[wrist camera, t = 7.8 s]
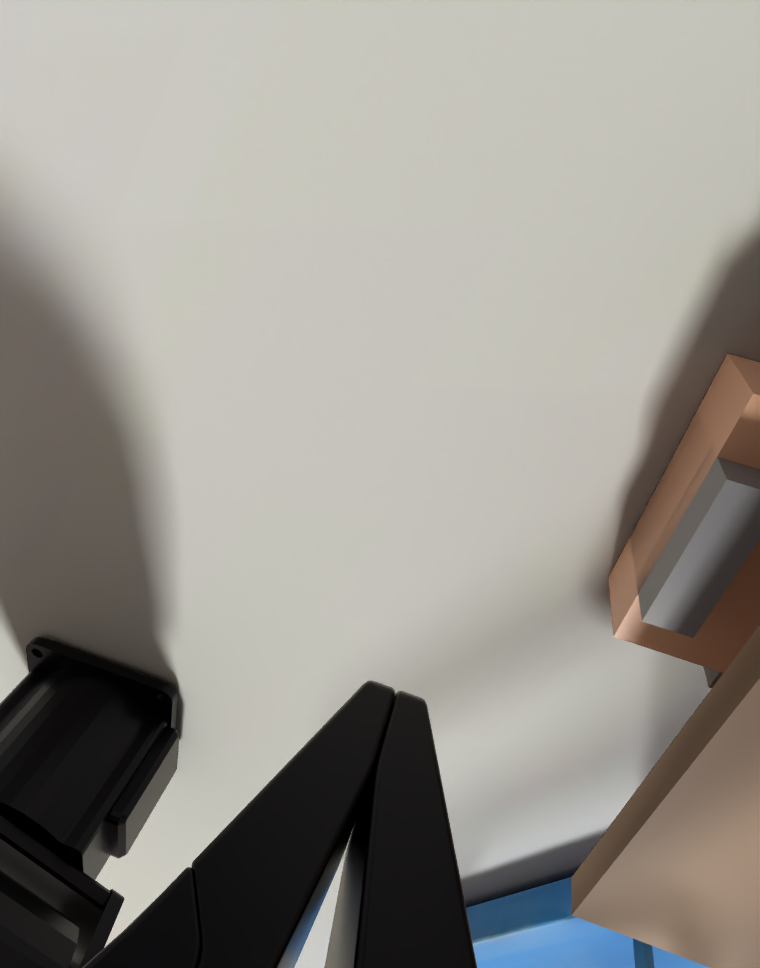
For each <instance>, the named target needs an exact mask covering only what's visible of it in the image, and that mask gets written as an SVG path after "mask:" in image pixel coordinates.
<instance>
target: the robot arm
mask: <svg viewBox="0 0 760 968" xmlns="http://www.w3.org/2000/svg"><path fill="white" fill-rule="evenodd" d="M26 653H27V661H28V669H29V674H28V675H27V676H26V677H25V678H24V679H23V680H22V681H21V682H20V683H19V684H18V685H17V686H16V688H15V689H14V690H13V691H12V692H11V693H10V694H9V695H8V696H7V697H6V698H5V699H4V700H3V701H2V702H1V703H0V968H294V967H295V964H296V962H297V960H298V957H299V955H300V953H301V951H302V948H303V946H304V944H305V942H306V939H307V937H308V935H309V932H310V930H311V928H312V926H313V923H314V921H315V919H316V916H317V914H318V912H319V910H320V907H321V905H322V903H323V900H324V898H325V896H326V894H327V891H328V889H329V887H330V884H331V882H332V880H333V878H334V875H335V873H336V871H337V869H338V866H339V864H340V861H341V859H342V856H343V854H344V851H345V849H346V846H347V843H348V840H349V838H350V840H349V844H348V848H347V852H346V857H345V861H344V866H343V871H342V876H341V882H340V887H339V892H338V898H337V903H336V909H335V914H334V919H333V925H332V930H331V935H330V941H329V946H328V952H327V957H326V962H325V968H477V963H476V958H475V953H474V948H473V943H472V937H471V932H470V927H469V922H468V917H467V911H466V906H465V901H464V896H463V891H462V885H461V880H460V875H459V870H458V865H457V859H456V854H455V849H454V844H453V839H452V833H451V828H450V823H449V818H448V812H447V807H446V802H445V797H444V792H443V786H442V781H441V776H440V771H439V766H438V760H437V755H436V750H435V745H434V740H433V734H432V729H431V724H430V719H429V714H428V708H427V705H426V702H425V700H424V699H422V698H420V697H417V696H414V695H412V694H409V693H406V692H403V691H399V692H397V693H396V695H395V690H394V689H393V688H392V687H389V686H386V685H383V684H380V683H378V682H375V681H367V682H366V683H364V684H363V685H362V686H361V687H360V688H359V689H358V690H357V692H356V693H355V694H354V695H353V696H352V697H351V698H350V699H349V700H348V701H347V702H346V703H345V704H344V705H343V706H342V707H341V708H340V709H339V710H338V711H337V712H336V713H335V714H334V715H333V716H332V718H331V719H330V720H329V721H328V722H327V723H326V724H325V725H324V726H323V727H322V728H321V729H320V730H319V731H318V732H317V733H316V734H315V735H314V736H313V737H312V738H311V739H310V740H309V741H308V742H307V744H306V745H305V746H304V747H303V748H302V749H301V750H300V751H299V752H298V753H297V754H296V755H295V756H294V757H293V758H292V759H291V760H290V761H289V762H288V763H287V764H286V765H285V766H284V767H283V769H282V770H281V771H280V772H279V773H278V774H277V775H276V776H275V777H274V778H273V779H272V780H271V781H270V782H269V783H268V784H267V785H266V786H265V787H264V788H263V789H262V790H261V791H260V792H259V793H258V795H257V796H256V797H255V798H254V799H253V800H252V801H251V802H250V803H249V804H248V805H247V806H246V807H245V808H244V809H243V810H242V811H241V812H240V813H239V814H238V815H237V816H236V817H235V818H234V819H233V821H232V822H231V823H230V824H229V825H228V826H227V827H226V828H225V829H224V830H223V831H222V832H221V833H220V834H219V835H218V836H217V837H216V838H215V839H214V840H213V841H212V842H211V843H210V844H209V845H208V847H207V848H206V849H205V850H204V851H203V852H202V853H201V854H200V855H199V856H198V857H197V858H196V859H195V860H194V861H193V863H192V868H190V867H188V868H186V869H185V870H184V871H183V872H182V873H181V874H180V875H179V876H178V877H177V878H176V879H175V880H174V881H173V882H172V883H171V884H170V886H169V887H168V888H167V889H166V890H165V891H164V892H163V893H162V894H161V895H160V896H159V897H158V898H157V899H156V900H155V901H154V902H153V903H152V904H151V905H150V906H149V907H148V908H147V909H145V910H144V911H143V912H142V913H141V914H140V915H139V916H138V917H137V918H136V919H135V920H134V921H133V922H132V923H131V924H130V925H129V926H128V927H127V928H126V929H125V930H124V931H123V932H122V933H121V934H120V935H118V936H117V937H116V938H115V939H114V940H113V941H112V942H111V943H109V944H108V945H107V946H106V947H105V948H104V946H105V944H106V942H107V939H108V937H109V934H110V932H111V930H112V927H113V925H114V923H115V920H116V918H117V915H118V913H119V911H120V908H121V906H122V903H123V901H124V897H123V896H121V895H120V894H119V893H117V892H116V891H114V890H113V889H111V890H108V889H106V888H105V887H104V886H102V885H101V884H99V883H98V882H97V881H95V879H96V878H97V876H98V874H99V873H100V871H101V869H102V868H103V866H104V864H105V863H106V861H107V860H108V858H109V856H110V855H111V856H114V857H116V858H121V857H122V856H124V855H126V854H127V853H128V851H129V850H130V848H131V846H132V845H133V843H134V841H135V839H136V838H137V836H138V834H139V833H140V831H141V829H142V828H143V826H144V824H145V822H146V821H147V819H148V817H149V816H150V814H151V812H152V811H153V809H154V807H155V805H156V804H157V802H158V800H159V799H160V797H161V795H162V794H163V792H164V790H165V788H166V787H167V785H168V783H169V782H170V780H171V778H172V776H173V775H174V773H175V771H176V769H177V759H178V745H179V734H178V731H177V729H175V728H176V712H177V697H178V694H177V691H176V690H175V688H174V687H173V686H171V685H170V684H168V683H166V682H163V681H160V680H157V679H155V678H152V677H149V676H146V675H144V674H141V673H138V672H135V671H133V670H130V669H127V668H124V667H122V666H119V665H116V664H113V663H111V662H108V661H105V660H102V659H100V658H97V657H94V656H91V655H89V654H86V653H83V652H80V651H78V650H75V649H72V648H69V647H67V646H64V645H61V644H58V643H56V642H53V641H50V640H47V639H45V638H41V637H35V638H34V639H33V640H32V641H31V642H30V643H29V644H28V645H27V646H26ZM352 829H353V830H352ZM351 832H352V833H351ZM350 835H351V837H350Z"/></svg>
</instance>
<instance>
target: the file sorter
mask: <svg viewBox="0 0 760 968" xmlns="http://www.w3.org/2000/svg"><path fill="white" fill-rule="evenodd" d="M571 878H572V877H569V878H566V879H562V880H559V881H556V882H552V883H549V884H546V885H542V886H539V887H535V888H532V889H529V890H525V891H522V892H518V893H515V894H512V895H508V896H505V897H501V898H498V899H495V900H491V901H488V902H484V903H481V904H477V905H474V906H471V907H467V908H466V911H467V917H468V922H469V927H470V932H471V937H472V943H473V948H474V953H475V958H476V963H477V968H710V967H707V966H705V965H702V964H700V963H697V962H694V961H692V960H689V959H686V958H684V957H681V956H678V955H676V954H673V953H670V952H668V951H665V950H662V949H660V948H657V947H654V946H652V945H649V944H646V943H644V942H641V941H638V940H636V939H633V938H631V937H628V936H625V935H623V934H620V933H617V932H615V931H612V930H609V929H607V928H604V927H601V926H599V925H596V924H593V923H591V922H588V921H585V920H583V919H580V918H577V917H575V916H572V889H571Z"/></svg>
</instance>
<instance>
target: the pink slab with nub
mask: <svg viewBox="0 0 760 968" xmlns="http://www.w3.org/2000/svg"><path fill="white" fill-rule="evenodd" d="M608 578H609V589H610V601H611V612H612V623H613V635H614V637H616V638H619V639H622V640H625V641H628V642H631V643H634V644H638V645H641V646H644V647H647V648H650V649H653V650H656V651H659V652H662V653H665V654H668V655H671V656H674V657H677V658H680V659H683V660H686V661H689V662H692V663H695V664H698V665H701V666H704V667H707V668H710V669H713V670H716V671H719V672H722V673H724V672H725V670H726V669H727V668H728V666H729V665H730V664H731V662H732V661H733V660H734V658H735V657H736V656H737V654H738V653H739V651H740V650H741V649H742V647H743V646H744V645H745V643H746V642H747V641H748V639H749V638H750V637H751V635H752V634H753V633H754V631H755V630H756V629H757V627H758V626H759V625H760V362H756V361H752V360H749V359H745V358H742V357H738V356H735V355H731V354H728V353H727V355H726V357H725V359H724V361H723V363H722V365H721V367H720V368H719V370H718V372H717V374H716V376H715V378H714V380H713V382H712V383H711V385H710V387H709V389H708V391H707V393H706V395H705V397H704V399H703V400H702V402H701V404H700V406H699V408H698V410H697V412H696V414H695V415H694V417H693V419H692V421H691V423H690V425H689V427H688V429H687V431H686V432H685V434H684V436H683V438H682V440H681V442H680V444H679V446H678V447H677V449H676V451H675V453H674V455H673V457H672V459H671V461H670V463H669V464H668V466H667V468H666V470H665V472H664V474H663V476H662V478H661V479H660V481H659V483H658V485H657V487H656V489H655V491H654V493H653V495H652V496H651V498H650V500H649V502H648V504H647V506H646V508H645V510H644V512H643V513H642V515H641V517H640V519H639V521H638V523H637V525H636V527H635V528H634V530H633V532H632V534H631V536H630V538H629V540H628V542H627V544H626V545H625V547H624V549H623V551H622V553H621V555H620V557H619V559H618V560H617V562H616V564H615V566H614V568H613V570H612V572H611V574H610V576H609V577H608Z"/></svg>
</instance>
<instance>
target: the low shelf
mask: <svg viewBox="0 0 760 968" xmlns="http://www.w3.org/2000/svg"><path fill="white" fill-rule="evenodd" d="M704 670H705V674H706V678H707V682H708V686H709V687H710V688H712V689H711V691H710V692H709V693H708V695H707V696H706V697H705V699H704V700H703V701H702V703H701V704H700V705H699V707H698V708H697V709H696V711H695V712H694V713H693V715H692V716H691V717H690V719H689V720H688V721H687V723H686V724H685V725H684V727H683V728H682V730H681V731H680V732H679V734H678V735H677V736H676V738H675V739H674V740H673V742H672V743H671V744H670V746H669V747H668V748H667V750H666V751H665V752H664V754H663V755H662V756H661V758H660V759H659V760H658V762H657V763H656V765H655V766H654V767H653V769H652V770H651V771H650V773H649V774H648V775H647V777H646V778H645V779H644V781H643V782H642V783H641V785H640V786H639V787H638V789H637V790H636V791H635V793H634V794H633V795H632V797H631V798H630V799H629V801H628V802H627V804H626V805H625V806H624V808H623V809H622V810H621V812H620V813H619V814H618V816H617V817H616V818H615V820H614V821H613V822H612V824H611V825H610V826H609V828H608V829H607V830H606V832H605V833H604V834H603V836H602V837H601V838H600V840H599V841H598V843H597V844H596V845H595V847H594V848H593V849H592V851H591V852H590V853H589V855H588V856H587V857H586V859H585V860H584V861H583V863H582V864H581V865H580V867H579V868H578V869H577V871H576V872H575V873H574V875H573V876H572V878H571V889H572V916H575V917H577V918H580V919H583V920H585V921H588V922H591V923H593V924H596V925H599V926H601V927H604V928H607V929H609V930H612V931H615V932H617V933H620V934H623V935H625V936H628V937H631V938H633V939H636V940H638V941H641V942H644V943H646V944H649V945H652V946H654V947H657V948H660V949H662V950H665V951H668V952H670V953H673V954H676V955H678V956H681V957H684V958H686V959H689V960H692V961H694V962H697V963H700V964H702V965H705V966H707V967H710V968H760V625H759V626H758V627H757V629H756V630H755V631H754V633H753V634H752V635H751V637H750V638H749V639H748V641H747V642H746V643H745V645H744V646H743V647H742V649H741V650H740V651H739V653H738V654H737V656H736V657H735V658H734V660H733V661H732V662H731V664H730V665H729V666H728V668H727V669H726V670H725V672H724V673H722V672H719V671H716V670H713V669H710V668H707V667H704Z"/></svg>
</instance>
